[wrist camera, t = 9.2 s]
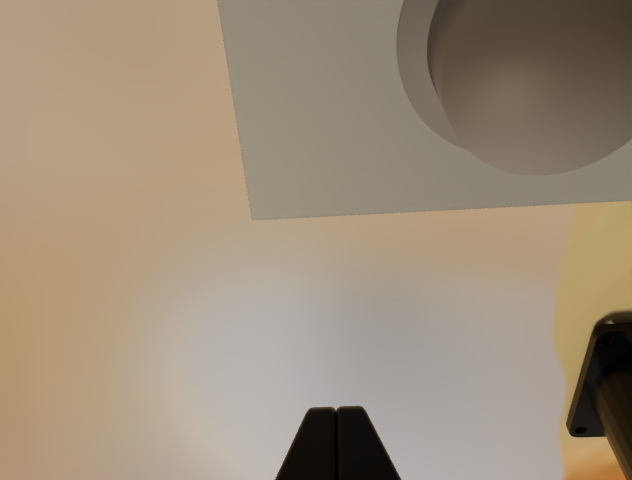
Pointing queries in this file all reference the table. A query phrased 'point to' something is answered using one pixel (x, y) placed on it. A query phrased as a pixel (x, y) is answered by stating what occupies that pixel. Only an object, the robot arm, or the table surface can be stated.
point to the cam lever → (534, 80)
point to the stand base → (366, 118)
